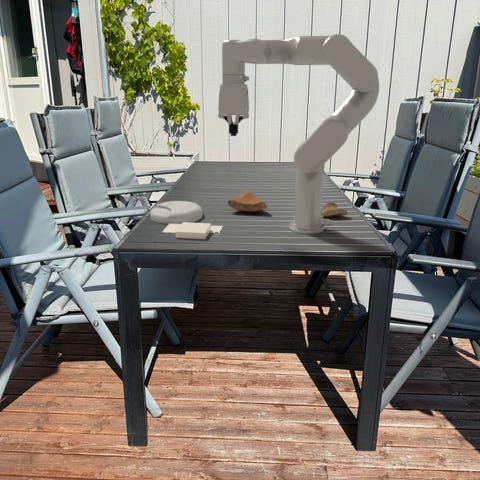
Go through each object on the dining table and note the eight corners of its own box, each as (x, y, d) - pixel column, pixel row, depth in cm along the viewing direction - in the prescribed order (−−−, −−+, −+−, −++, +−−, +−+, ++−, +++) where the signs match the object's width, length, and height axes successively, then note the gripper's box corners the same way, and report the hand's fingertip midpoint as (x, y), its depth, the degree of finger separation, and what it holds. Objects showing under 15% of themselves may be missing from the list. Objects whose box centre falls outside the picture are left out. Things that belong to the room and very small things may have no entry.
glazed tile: (210, 223, 160) (183, 222, 162) (205, 233, 151) (175, 231, 152) (210, 230, 161) (183, 228, 163) (205, 240, 152) (175, 238, 153)
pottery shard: (349, 218, 180) (338, 205, 188) (350, 209, 177) (340, 196, 185) (323, 222, 178) (314, 209, 186) (324, 212, 175) (315, 199, 183)
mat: (223, 227, 166) (223, 226, 166) (212, 248, 147) (212, 246, 147) (169, 225, 168) (169, 223, 168) (152, 244, 150) (152, 243, 149)
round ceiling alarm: (218, 227, 173) (217, 212, 171) (152, 236, 164) (151, 220, 162) (197, 209, 195) (197, 195, 192) (138, 216, 185) (137, 201, 183)
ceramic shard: (275, 207, 191) (244, 196, 197) (276, 193, 188) (245, 183, 194) (258, 222, 181) (226, 211, 187) (259, 208, 177) (226, 197, 183)
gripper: (256, 79, 155) (255, 134, 162) (213, 79, 157) (214, 133, 164) (254, 80, 148) (253, 137, 155) (209, 80, 150) (210, 136, 157)
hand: (233, 135), depth 159 cm, fingers closed
